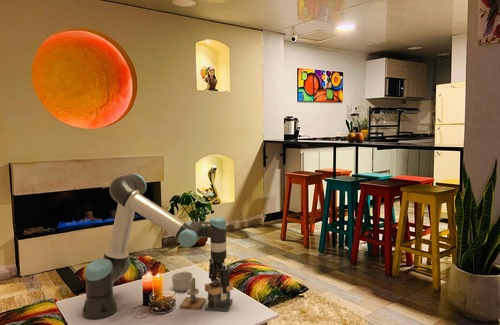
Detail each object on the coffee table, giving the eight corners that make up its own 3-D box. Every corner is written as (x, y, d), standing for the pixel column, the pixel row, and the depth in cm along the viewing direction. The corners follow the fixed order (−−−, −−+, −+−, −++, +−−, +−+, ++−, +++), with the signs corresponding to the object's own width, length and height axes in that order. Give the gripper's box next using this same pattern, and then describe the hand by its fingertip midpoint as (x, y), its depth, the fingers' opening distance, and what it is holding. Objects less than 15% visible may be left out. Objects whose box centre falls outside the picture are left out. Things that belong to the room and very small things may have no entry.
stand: (179, 308, 184) (179, 282, 183) (186, 299, 194) (185, 274, 193) (200, 309, 182) (199, 283, 181) (205, 300, 192) (205, 275, 191)
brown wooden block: (213, 295, 179) (213, 289, 179) (205, 290, 185) (204, 284, 185) (233, 289, 186) (232, 283, 186) (224, 284, 192) (224, 279, 192)
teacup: (188, 294, 200) (188, 279, 200) (168, 292, 203) (168, 277, 202) (197, 283, 214) (197, 269, 213) (178, 282, 216) (178, 268, 216)
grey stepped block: (205, 310, 182) (204, 282, 181) (210, 300, 192) (210, 274, 191) (228, 312, 180) (227, 283, 179) (232, 301, 191) (232, 275, 190)
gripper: (237, 253, 178) (237, 301, 180) (214, 243, 194) (214, 288, 196) (223, 257, 174) (224, 306, 176) (201, 246, 190) (201, 291, 192)
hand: (219, 296), depth 186 cm, fingers closed on brown wooden block, 7 cm apart
